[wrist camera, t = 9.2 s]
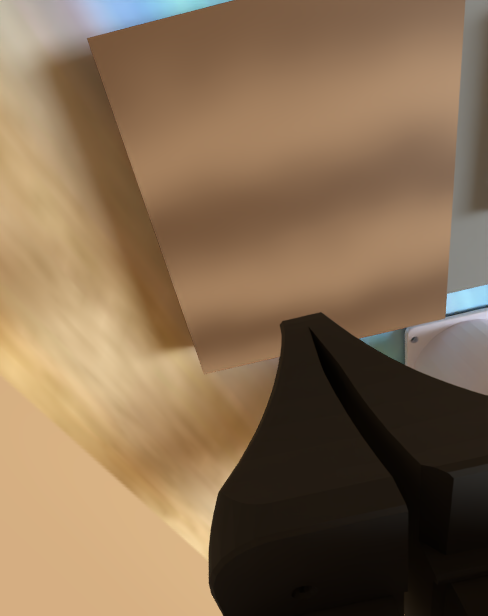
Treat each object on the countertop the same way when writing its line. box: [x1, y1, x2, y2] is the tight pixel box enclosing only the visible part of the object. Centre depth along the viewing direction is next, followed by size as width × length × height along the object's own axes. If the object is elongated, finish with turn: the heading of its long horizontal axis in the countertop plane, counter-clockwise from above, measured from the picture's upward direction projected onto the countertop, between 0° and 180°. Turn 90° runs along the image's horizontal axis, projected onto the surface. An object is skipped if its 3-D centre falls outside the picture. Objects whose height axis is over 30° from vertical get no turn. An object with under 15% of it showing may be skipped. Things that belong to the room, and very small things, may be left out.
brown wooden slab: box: [87, 0, 465, 374], centre depth 18 cm, size 16×14×3 cm
